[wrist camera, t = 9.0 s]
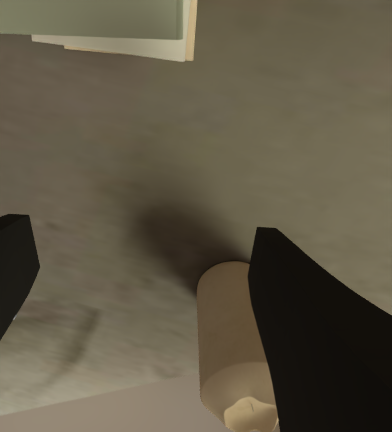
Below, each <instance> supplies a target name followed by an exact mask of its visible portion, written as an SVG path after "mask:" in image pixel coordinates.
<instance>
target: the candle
mask: <svg viewBox="0 0 392 432" xmlns="http://www.w3.org/2000/svg"><path fill="white" fill-rule="evenodd" d="M249 266H250V264H248V263H245V262H240V261H229V262H223V263H220V264H217V265H215V266H213V267H211V268H210V269H208V270H207V271H206V272H205V273H204V274H203V275H202V277H201V278H200V280H199V283H198V286H197V317H198V345H199V374H200V397H201V401H202V402H203V405H204V406H205V407H206V408H207V409H208V410H209V411H210V412H211V413H212V414H214V415H215V416H216V417H217V418H218V419H219V420H220V421H221V422H222V423H223V424H224V425H225V426H226V427H227V428H229V429H231V430H233V431H235V432H250V431H252V430H257V431H260V432H272V431H273V430H274V429H275V427H276V424H277V423H278V421H279V420H278V414H277V408H276V403H275V397H274V391H273V385H272V380H271V376H270V371H269V367H268V363H267V360H266V356H265V353H264V349H263V345H262V342H261V338H260V335H259V331H258V327H257V324H256V320H255V316H254V313H253V309H252V305H251V300H250V293H249V285H248V277H247V276H248V271H249Z"/></svg>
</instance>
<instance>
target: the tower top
mask: <svg viewBox="0 0 392 432" xmlns="http://www.w3.org/2000/svg"><path fill="white" fill-rule="evenodd" d="M190 3H191V0H183V39H181V40H162V39H135V38H109V37H82V36H56V35H32V41H37V42H44V43H51V44H58V45H66V46H73V47H80V48H87V49H94V50H102V51H109V52H116V53H123V54H130V55H138V56H145V57H152V58H159V59H166V60H174V61H181V62H184V61H185V54H186V44H187V34H188V24H189V13H190Z"/></svg>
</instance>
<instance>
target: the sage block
mask: <svg viewBox="0 0 392 432" xmlns="http://www.w3.org/2000/svg"><path fill="white" fill-rule="evenodd" d="M0 33H3V34H30V35H56V36H82V37H109V38H135V39H162V40H181V39H183V0H0Z"/></svg>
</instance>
